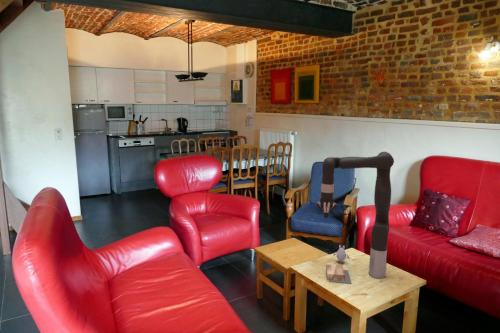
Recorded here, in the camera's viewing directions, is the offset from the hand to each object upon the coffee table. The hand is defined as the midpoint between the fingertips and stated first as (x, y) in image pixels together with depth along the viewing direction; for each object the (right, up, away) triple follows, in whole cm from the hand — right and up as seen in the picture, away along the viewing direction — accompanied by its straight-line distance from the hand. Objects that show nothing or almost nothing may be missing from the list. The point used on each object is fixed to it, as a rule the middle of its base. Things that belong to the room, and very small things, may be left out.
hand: (325, 217), depth 220 cm
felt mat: (+7, -35, -4) cm, 36 cm away
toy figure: (+13, -31, +14) cm, 36 cm away
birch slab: (0, -32, -4) cm, 32 cm away
